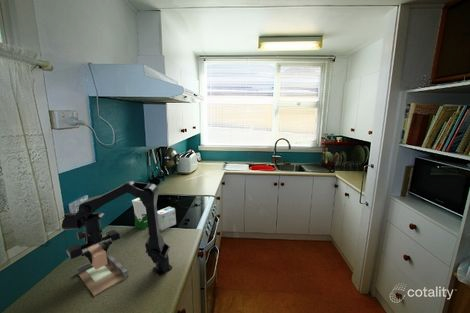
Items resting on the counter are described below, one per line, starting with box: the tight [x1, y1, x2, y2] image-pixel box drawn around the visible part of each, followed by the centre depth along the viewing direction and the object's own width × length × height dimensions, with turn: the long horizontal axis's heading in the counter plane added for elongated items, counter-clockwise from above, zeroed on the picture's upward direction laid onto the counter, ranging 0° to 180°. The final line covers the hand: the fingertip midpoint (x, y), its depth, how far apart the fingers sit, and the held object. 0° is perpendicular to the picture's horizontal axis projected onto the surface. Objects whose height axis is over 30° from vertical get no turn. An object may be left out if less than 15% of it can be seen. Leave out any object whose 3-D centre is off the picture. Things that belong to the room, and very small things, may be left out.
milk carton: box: [131, 197, 148, 230], centre depth 133 cm, size 9×9×20 cm
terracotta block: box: [87, 244, 107, 269], centre depth 92 cm, size 4×9×6 cm, turn 52°
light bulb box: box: [157, 206, 177, 231], centre depth 133 cm, size 11×7×11 cm, turn 141°
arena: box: [76, 252, 129, 297], centre depth 92 cm, size 20×13×3 cm, turn 52°
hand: (97, 260), depth 92 cm, fingers closed on terracotta block, 4 cm apart
